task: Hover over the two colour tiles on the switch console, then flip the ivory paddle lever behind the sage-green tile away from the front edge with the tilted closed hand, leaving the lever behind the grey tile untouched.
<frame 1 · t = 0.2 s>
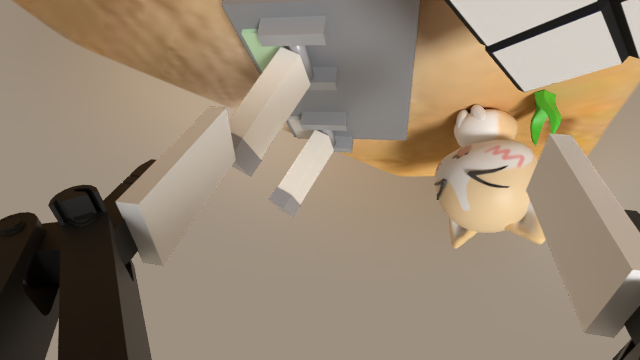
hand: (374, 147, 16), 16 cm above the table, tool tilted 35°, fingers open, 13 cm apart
kitten: (487, 113, 42), on the table
lever A: (269, 105, 29), point 8 cm above the table, hinge at 25.0°
lever B: (306, 168, 42), point 8 cm above the table, hinge at 25.0°
console: (340, 63, 36), on the table
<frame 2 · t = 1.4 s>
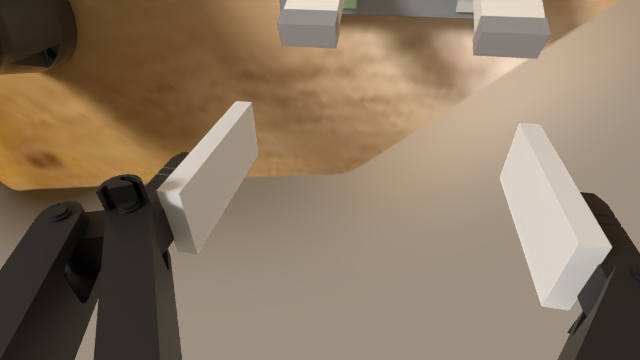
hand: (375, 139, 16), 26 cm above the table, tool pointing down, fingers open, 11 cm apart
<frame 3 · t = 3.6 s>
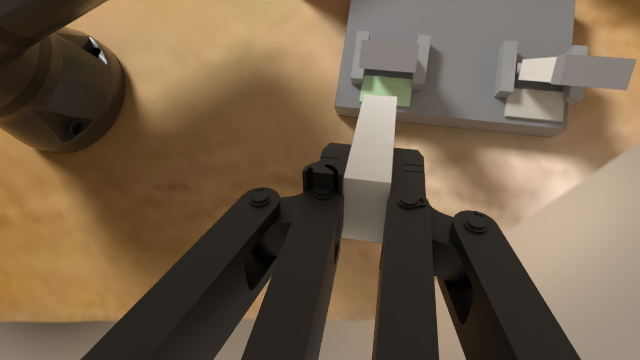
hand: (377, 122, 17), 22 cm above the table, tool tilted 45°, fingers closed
lever A: (389, 58, 32), point 8 cm above the table, hinge at 25.0°
lever B: (562, 71, 30), point 8 cm above the table, hinge at 25.0°
console: (446, 63, 40), on the table
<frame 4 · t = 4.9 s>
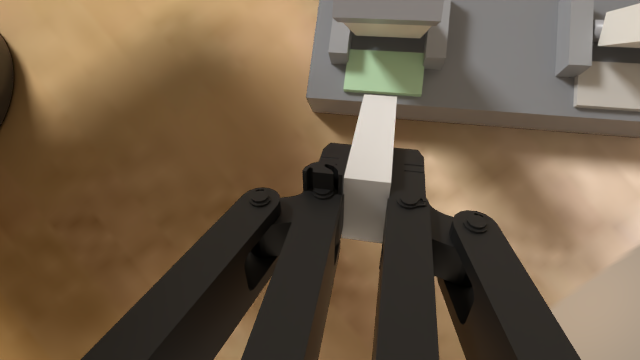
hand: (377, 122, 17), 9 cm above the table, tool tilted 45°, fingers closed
lever A: (388, 11, 19), point 8 cm above the table, hinge at 25.0°
console: (472, 31, 27), on the table
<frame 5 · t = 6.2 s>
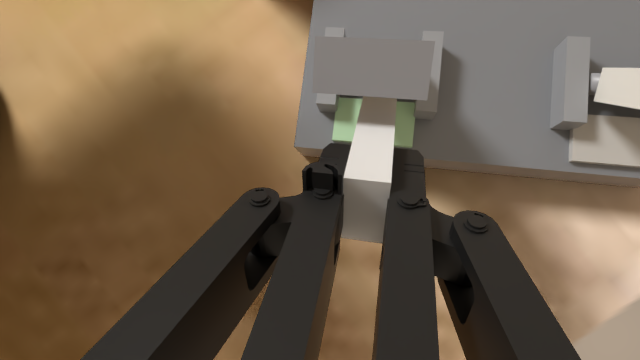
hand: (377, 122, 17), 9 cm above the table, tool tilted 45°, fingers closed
lever A: (376, 70, 18), point 8 cm above the table, hinge at 23.2°, touching gripper
console: (466, 73, 26), on the table
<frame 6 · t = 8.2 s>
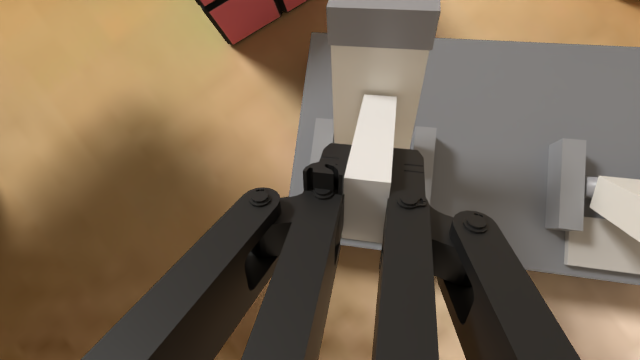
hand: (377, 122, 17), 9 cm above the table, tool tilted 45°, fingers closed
lever A: (375, 104, 18), point 8 cm above the table, hinge at -29.8°, touching gripper
console: (460, 156, 25), on the table
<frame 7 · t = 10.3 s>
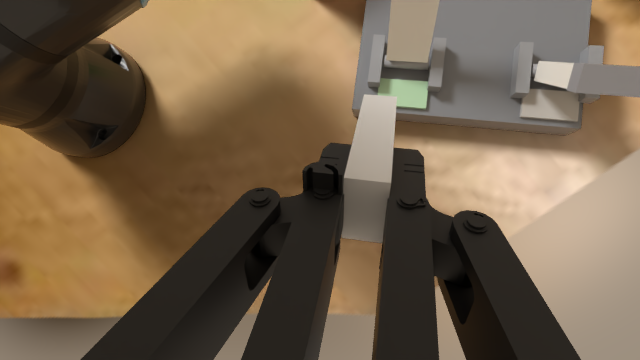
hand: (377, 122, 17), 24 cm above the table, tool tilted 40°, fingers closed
lever A: (412, 18, 33), point 8 cm above the table, hinge at -29.8°
lever B: (578, 75, 30), point 8 cm above the table, hinge at 25.0°
console: (461, 63, 40), on the table
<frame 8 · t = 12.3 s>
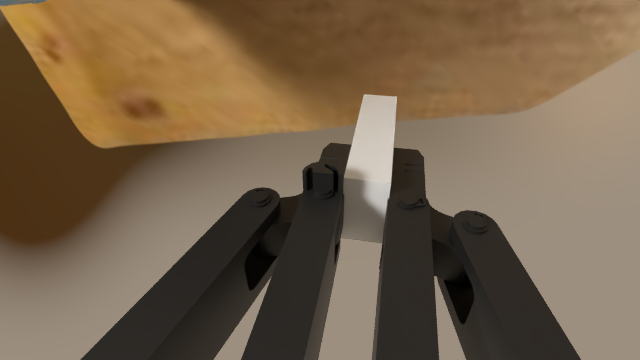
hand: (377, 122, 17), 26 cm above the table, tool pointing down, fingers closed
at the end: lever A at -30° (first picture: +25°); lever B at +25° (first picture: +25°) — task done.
